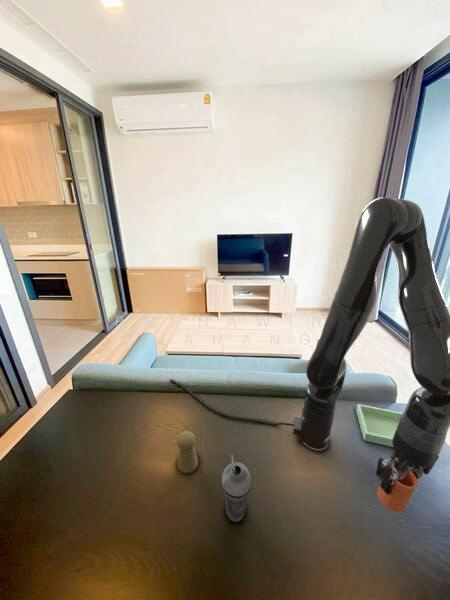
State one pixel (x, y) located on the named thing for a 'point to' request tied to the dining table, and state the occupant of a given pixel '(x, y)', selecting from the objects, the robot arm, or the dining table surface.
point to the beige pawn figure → (187, 452)
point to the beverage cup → (236, 489)
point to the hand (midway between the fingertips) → (396, 486)
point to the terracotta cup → (399, 493)
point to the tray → (378, 424)
